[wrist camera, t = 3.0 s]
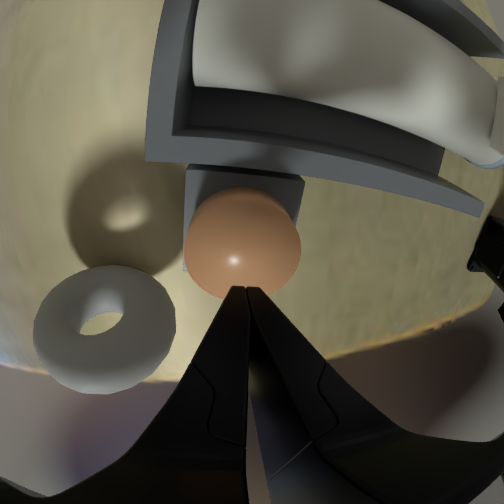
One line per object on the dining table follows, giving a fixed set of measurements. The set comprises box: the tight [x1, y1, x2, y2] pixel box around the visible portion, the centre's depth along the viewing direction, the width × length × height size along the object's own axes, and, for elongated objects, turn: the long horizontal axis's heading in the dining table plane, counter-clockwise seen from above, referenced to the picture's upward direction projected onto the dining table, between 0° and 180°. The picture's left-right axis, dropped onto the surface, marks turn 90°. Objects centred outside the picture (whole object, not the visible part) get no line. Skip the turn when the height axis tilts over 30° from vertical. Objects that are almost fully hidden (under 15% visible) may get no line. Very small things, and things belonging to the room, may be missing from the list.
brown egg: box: [184, 187, 301, 299], centre depth 12 cm, size 4×4×6 cm
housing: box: [145, 0, 504, 271], centre depth 11 cm, size 18×18×6 cm
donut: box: [33, 265, 176, 394], centre depth 14 cm, size 10×3×10 cm, turn 87°
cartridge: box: [193, 0, 504, 169], centre depth 8 cm, size 17×6×9 cm, turn 82°
